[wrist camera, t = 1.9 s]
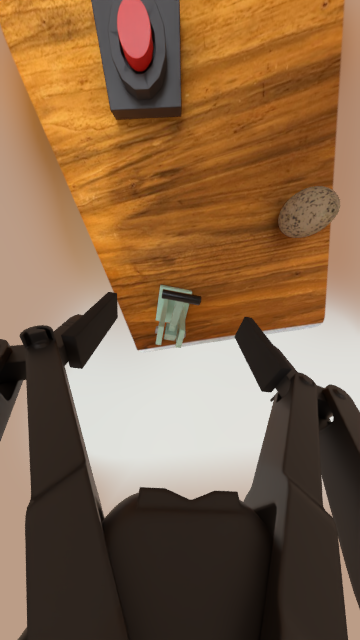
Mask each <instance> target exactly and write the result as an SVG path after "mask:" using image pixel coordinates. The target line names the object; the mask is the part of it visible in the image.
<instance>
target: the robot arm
mask: <svg viewBox="0 0 360 640" xmlns="http://www.w3.org/2000/svg"><path fill="white" fill-rule="evenodd" d="M117 317H118V315H117V293H112V292H108V293H107V294H106V295H105V296H104V297H102V298H101V299H100V300H99V301H98V302H97V303H96V304H95V305H94V306H93V307H91V308H90V309H89V310H88V311H87V312H86V313H85V314H84V315H79V314H78V315H75V316H73V317H71V318H69V319H68V320H67V321H66V322H64V323H63V324H62V326H60V327H58V329H56V330H55V331H54V332H53V329H52V328H51V327H49V326H43V325H42V326H34V327H30V328H28V329H26V330H24V331H23V332H22V333H21V334H20V338H21V340H22V342H23V344H24V345H17V346H10V345H9V344H8V342H7V341H6V340H2V339H0V441H1V438H2V435H3V433H4V430H5V428H6V425H7V422H8V420H9V417H10V414H11V411H12V409H13V406H14V404H15V401H16V398H17V396H18V393H19V390H20V387H21V385H22V382H23V380H27V404H28V427H29V451H30V472H31V473H30V474H31V500H30V503H29V505H28V507H27V511H26V521H25V537H26V538H25V539H26V585H27V586H26V587H27V628H26V629H25V630H24V632H23V633H22V635H21V636H20V637H19V639H18V640H348V635H347V625H346V615H345V605H344V595H343V585H342V574H341V564H340V554H339V544H338V538H339V542H340V546H341V549H342V553H343V557H344V560H345V564H346V568H347V571H348V574H349V578H350V581H351V584H352V587H353V591H354V594H355V597H356V600H357V602H358V605H359V608H360V412H359V410H358V408H357V407H356V405H355V404H354V402H353V400H352V399H351V397H350V396H349V395H348V394H347V393H346V392H345V391H344V390H342V389H341V388H339V387H337V386H334V385H328V386H327V387H326V388H322V387H320V386H317V385H316V384H315V383H314V381H313V380H312V379H311V378H309V377H308V376H306V375H304V374H302V373H298V372H297V371H296V370H295V368H294V367H293V366H292V365H291V363H290V362H289V361H288V360H287V359H286V357H285V356H284V355H283V354H282V352H281V351H280V350H279V349H277V348H276V347H275V346H273V344H272V343H271V342H270V340H269V339H268V338H267V337H266V335H265V334H264V333H263V332H262V330H261V329H260V328H259V327H258V325H257V324H256V323H255V322H254V320H253V319H252V318H249V317H244V319H243V321H242V323H241V325H240V327H239V329H238V331H237V333H236V335H235V339H236V341H237V343H238V345H239V347H240V349H241V351H242V353H243V355H244V356H245V359H246V361H247V363H248V364H249V366H250V369H251V371H252V372H253V375H254V377H255V379H256V381H257V383H258V385H259V387H260V389H261V391H264V392H272V391H273V389H274V388H276V389H277V391H278V392H277V393H276V395H275V396H274V397H273V398H272V399H271V401H273V400H274V402H273V406H272V410H271V414H270V418H269V421H268V425H267V430H266V433H265V437H264V441H263V445H262V449H261V453H260V456H259V460H258V464H257V468H256V472H255V476H254V480H253V484H252V487H251V489H250V491H249V492H248V494H247V496H246V498H245V500H244V502H242V501H240V500H239V497H238V492H229V491H213V492H211V493H208V494H206V495H203V496H201V497H198V498H196V499H193V500H189V499H187V498H185V497H182V496H180V495H178V494H176V493H174V492H172V491H169V490H167V489H164V488H144V487H141V488H140V489H139V493H136V494H134V495H131V496H129V497H128V498H126V499H124V500H123V501H122V502H120V503H119V504H118V505H117V506H116V507H115V508H114V509H113V510H112V511H111V512H110V513H109V514H108V515H107V516H106V518H104V515H103V511H102V507H101V503H100V499H99V496H98V492H97V489H96V485H95V481H94V478H93V474H92V470H91V466H90V463H89V459H88V455H87V451H86V447H85V443H84V439H83V436H82V432H81V428H80V424H79V420H78V416H77V413H76V409H75V405H74V402H73V397H72V393H71V390H70V386H69V382H68V378H67V374H66V370H65V367H64V366H65V365H66V363H67V362H68V361H69V365H70V367H73V368H81V369H82V368H83V367H84V365H85V364H86V362H87V361H88V360H89V358H90V357H91V355H92V354H93V352H94V351H95V349H96V348H97V347H98V345H99V344H100V342H101V341H102V339H103V338H104V336H105V335H106V333H107V332H108V331H109V329H110V328H111V326H112V325H113V323H114V322H115V320H116V319H117ZM331 416H333V417H334V420H333V422H331V421H330V419H329V418H330V417H331ZM321 475H322V479H323V482H324V486H325V490H326V494H327V497H328V501H329V505H330V508H331V512H332V515H333V518H332V516H330V515H329V514H328V513H327V512H326V511H325V509H324V507H323V501H322V482H321V481H322V480H321Z"/></svg>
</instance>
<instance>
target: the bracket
mask: <svg viewBox="0 0 360 640" xmlns="http://www.w3.org/2000/svg"><path fill="white" fill-rule="evenodd" d="M163 289H166V290H171V291H176V292H182V293H187V294H192V291H191V290H185V289H180V288H175V287H170V286H165V285H161V286H160V292H159V299H158V307H157V314H156V320H158V321H160V322H159V327H158V326H156V331H155V333H157V340H156V344H158V345H161V342H162V336H163V330H164V324H165V322H169V323H170V321H171V317H172V314H173V310H174V306H175V302H176V301H173V300H168V299H162V291H163ZM188 307H189V303H184V306H183V309H182V311H181V314H180V317H179V320H178V322H177V325H178V327H177V335H176V347H178V348H181V345H182V341H183V338H185V336H186V331H185V318H186V314H187V311H188Z"/></svg>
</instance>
